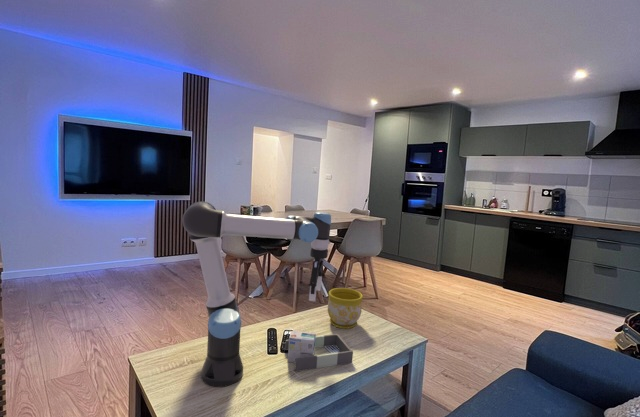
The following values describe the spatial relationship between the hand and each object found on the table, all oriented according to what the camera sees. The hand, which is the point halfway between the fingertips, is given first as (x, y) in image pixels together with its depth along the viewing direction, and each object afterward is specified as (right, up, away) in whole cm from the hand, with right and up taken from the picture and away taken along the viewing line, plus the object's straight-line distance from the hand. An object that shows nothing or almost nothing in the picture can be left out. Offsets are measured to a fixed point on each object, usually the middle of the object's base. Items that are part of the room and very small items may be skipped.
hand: (314, 295), depth 146 cm
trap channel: (+1, -25, -4) cm, 26 cm away
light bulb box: (-6, -25, -7) cm, 27 cm away
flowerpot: (+15, -23, +29) cm, 40 cm away
